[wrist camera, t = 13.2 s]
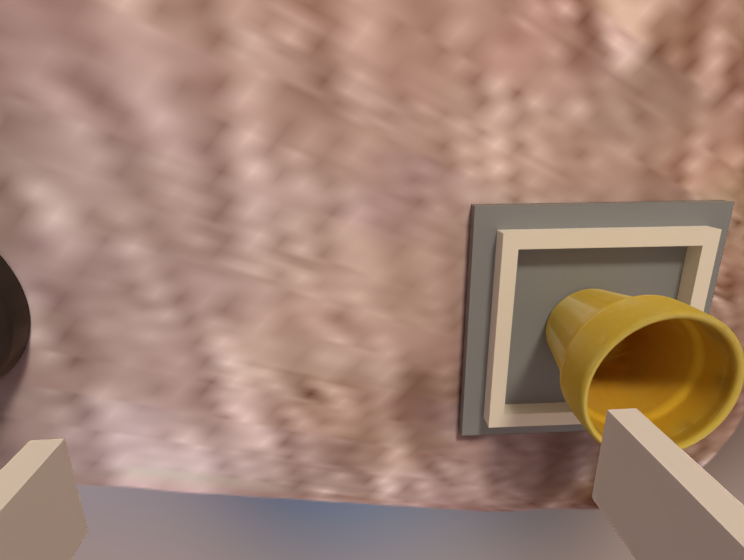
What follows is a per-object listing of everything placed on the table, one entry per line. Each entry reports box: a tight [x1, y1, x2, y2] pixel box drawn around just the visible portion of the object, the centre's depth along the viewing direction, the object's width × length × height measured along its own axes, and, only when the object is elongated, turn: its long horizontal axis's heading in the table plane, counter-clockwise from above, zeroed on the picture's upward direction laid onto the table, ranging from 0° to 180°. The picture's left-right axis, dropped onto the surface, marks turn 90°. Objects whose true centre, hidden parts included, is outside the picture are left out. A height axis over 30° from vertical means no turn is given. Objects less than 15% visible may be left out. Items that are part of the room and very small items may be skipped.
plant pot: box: [546, 289, 744, 450], centre depth 32 cm, size 10×10×10 cm
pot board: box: [459, 200, 734, 436], centre depth 37 cm, size 20×20×2 cm
